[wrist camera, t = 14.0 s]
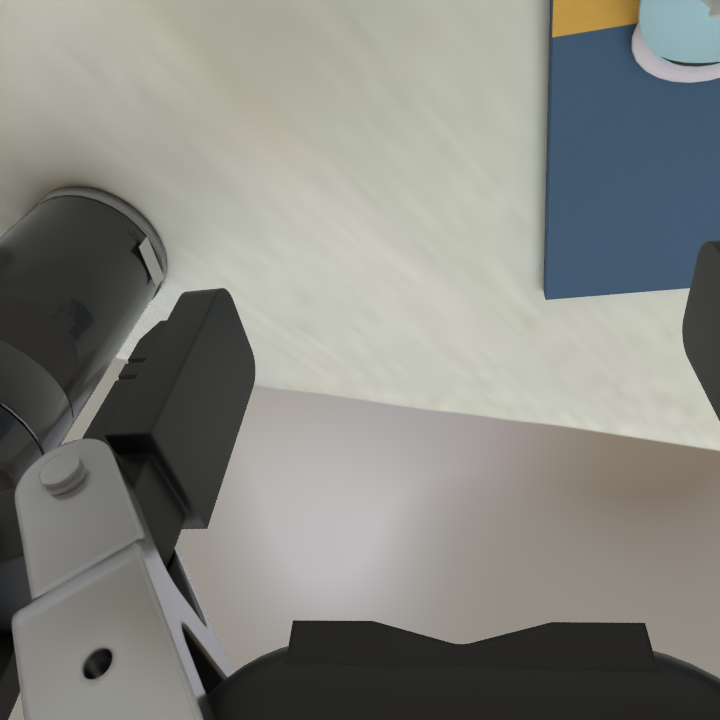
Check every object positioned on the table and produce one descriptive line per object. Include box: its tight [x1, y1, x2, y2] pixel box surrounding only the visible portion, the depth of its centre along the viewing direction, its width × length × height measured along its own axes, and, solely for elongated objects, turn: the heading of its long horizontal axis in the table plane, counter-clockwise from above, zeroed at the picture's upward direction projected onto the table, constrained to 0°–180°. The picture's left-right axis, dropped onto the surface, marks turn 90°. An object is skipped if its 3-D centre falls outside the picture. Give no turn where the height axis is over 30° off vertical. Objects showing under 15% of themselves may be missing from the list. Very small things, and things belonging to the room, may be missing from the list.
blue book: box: [544, 0, 720, 300], centre depth 32 cm, size 14×20×1 cm
